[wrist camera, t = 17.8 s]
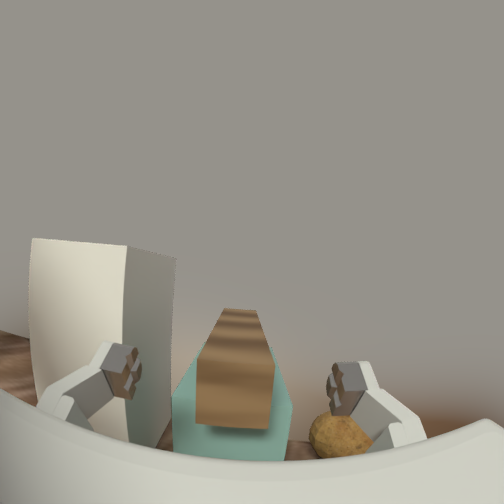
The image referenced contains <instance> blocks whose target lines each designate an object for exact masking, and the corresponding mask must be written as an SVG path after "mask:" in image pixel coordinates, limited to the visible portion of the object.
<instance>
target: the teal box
mask: <svg viewBox="0 0 504 504" xmlns="http://www.w3.org/2000/svg"><path fill="white" fill-rule="evenodd" d="M205 343H206V342H204V344H203V346H202V347H201V349H200V350H199V352H198V354H197V355H196V357H195V359H194V361H193V362H192V364H191V365H190V367H189V369H188V370H187V372H186V373H185V375H184V377H183V378H182V380H181V382H180V384H179V385H178V387H177V388H176V390H175V392H174V393H173V395H172V433H173V452H176V453H182V454H188V455H195V456H202V457H211V458H221V459H233V460H250V461H284V458H285V452H286V447H287V441H288V435H289V429H290V422H291V416H292V409H293V405H292V403H291V400H290V397H289V394H288V391H287V389H286V386H285V383H284V381H283V378H282V375H281V372H280V369H279V367H278V364H277V361H276V358H275V356H274V353H273V350H272V347H269V349H270V352H271V354H272V357H273V360H274V363H275V374H274V383H273V392H272V401H271V409H270V417H269V425H268V429H253V428H235V427H223V426H212V425H204V424H196V423H195V411H196V370H197V358H198V356H199V354H200V352H201V350H202V349H203V347H204V345H205Z"/></svg>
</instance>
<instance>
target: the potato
mask: <svg viewBox="0 0 504 504" xmlns="http://www.w3.org/2000/svg"><path fill="white" fill-rule="evenodd" d="M309 440H310V442H311V444H312V446H313V448H314V450H315V451H316V453H317V454H318V456H320V457H322V458H323V459H327V458H336V457H345V456H352V455H359V454H365V452H366V451H367V450H368V448H369V447H370V446H371V445H372V444H373V443H374V442H373V441H372V440H371V439H370V438H369V437H368V435H367V434H366V433H365V432H364V431H363V430H362V429H361V428H360V427H359V426H358V424H357V423H356V422H355V421H354V420H353V419H352V418H351V417H350V415H346V416H332V415H331V411H329V412H326V413H323V414H321V415H320V416H318V417H317V418H316V419H315V420H314V422H313V424H312V426H311V428H310V433H309Z"/></svg>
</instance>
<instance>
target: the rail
mask: <svg viewBox="0 0 504 504" xmlns="http://www.w3.org/2000/svg"><path fill="white" fill-rule="evenodd" d="M274 374H275V363H274V360H273V357H272V354H271V352H270V349H269V346H268V343H267V341H266V338H265V335H264V332H263V329H262V327H261V324H260V321H259V318H258V315H257V313H256V311H254V310H241V309H227V308H224V310H223V312H222V314H221V316H220V317H219V319H218V321H217V323H216V325H215V326H214V328H213V330H212V332H211V334H210V336H209V338H208V339H207V341H206V343H205V345H204V347H203V349H202V350H201V352H200V354H199V356H198V358H197V370H196V411H195V423H196V424H204V425H212V426H223V427H235V428H253V429H268V425H269V417H270V409H271V401H272V392H273V383H274Z"/></svg>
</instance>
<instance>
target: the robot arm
mask: <svg viewBox="0 0 504 504" xmlns="http://www.w3.org/2000/svg"><path fill="white" fill-rule="evenodd" d="M138 354H139V353H138V349H137V348H136V347H133V346H128V345H123V344H119V343H114V342H110V341H106V340H105V341H103V342H102V343H101V345H100V347H99V348H98V350H97V352H96V354H95V355H94V357H93V359H92V361H91V362H90V364H89V366H87V365H85V366H84V367H82V368H80V369H78V370H76V371H75V372H73V373H71V374H69V375H68V376H66V377H64V378H62V379H60V380H59V381H57V382H55V383H53V384H52V385H50V386H48V387H47V388H46V390H45V391H44V393H43V395H42V397H41V398H40V400H39V402H38V404H37V405H36V407H34V406H32V405H30V404H28V403H26V402H24V401H22V400H20V399H18V398H16V397H15V396H13V395H11V394H9V393H8V392H6V391H4V390H2V389H1V388H0V504H504V429H503V428H502V427H501V426H499V425H498V424H496V423H495V422H493V421H491V420H489V419H481V420H479V421H476V422H474V423H471V424H469V425H467V426H464V427H461V428H459V429H456V430H453V431H450V432H448V433H445V434H442V435H439V436H436V437H432V438H429V439H427V437H426V434H425V432H424V429H423V426H422V424H421V421H420V419H419V417H418V416H417V415H416V414H414V413H413V412H412V411H410V410H409V409H408V408H407V407H405V406H404V405H403V404H401V403H400V402H399V401H398V400H396V399H395V398H394V397H392V396H391V395H390V394H389V393H387V392H386V391H385V390H384V389H380V388H379V386H378V383H377V381H376V378H375V375H374V372H373V371H372V368H371V365H370V363H369V362H368V361H362V362H338V363H335V364H333V367H332V372H333V373H332V374H330V375H329V377H328V380H327V385H326V390H327V396H328V397H329V398H330V399H331V401H330V403H329V406H330V410H331V415H332V416H346V415H350V417H351V418H352V419H353V420H354V421H355V422H356V423H357V424H358V426H359V427H360V428H361V429H362V430H363V431H364V432H365V433H366V434H367V435H368V437H369V438H370V439H371V440H372V441H373V442H374V443H373V444H372V445H371V446H370V447H369V448H368V450H367V451H366V452H365V454H359V455H352V456H345V457H336V458H327V459H315V460H298V461H250V460H233V459H221V458H211V457H202V456H195V455H188V454H182V453H176V452H170V451H165V450H160V449H155V448H151V447H146V446H142V445H138V444H134V443H130V442H127V441H123V440H119V439H116V438H113V437H109V436H106V435H103V434H100V433H97V432H94V429H93V427H92V426H91V424H90V423H89V422H88V420H87V419H89V418H90V417H91V416H92V415H93V414H95V413H96V412H97V411H98V410H100V409H101V408H102V407H103V406H104V405H106V404H107V403H108V402H109V401H111V400H112V399H113V398H114V396H115V397H119V398H123V399H128V400H132V399H133V396H134V393H135V391H136V386H135V383H137V382H138V381H139V380H140V377H141V373H142V364H141V360H140V359H139V358H138V357H137V356H138Z"/></svg>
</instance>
